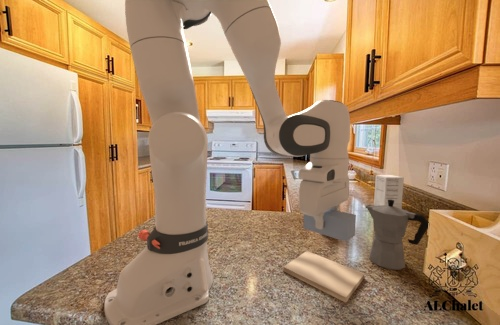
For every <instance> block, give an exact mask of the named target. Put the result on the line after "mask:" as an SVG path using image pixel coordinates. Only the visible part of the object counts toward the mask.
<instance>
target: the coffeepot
mask: <svg viewBox="0 0 500 325" xmlns="http://www.w3.org/2000/svg"><path fill="white" fill-rule="evenodd" d="M393 204H394V200H388V205H381V206H376V205H374V204H373V205H372V204H370V205H366V206H365V208H366V209H367V210H368V212H369V215H370V216H371V218H372V220H373V221H372V222H373V231H374V235H373V238H372V242H371V247H370V249H369V250H370V251H369V254H368V255H369V256H368V259H369V260H370V261H371V262H372V263H373V264H374V265H376V266H378V267H381V268H384V269H388V270H391V271H399V270H403V269H405V268H406V261H405V252H404V245H403V244H404V243H403V238H404V237H405V234H406V232H407V231H406V230H407V227H408V225H409V221H413V222H415V221H416V222H419V223H420V225H419V226H418V229H417V232H416V233H415V234H414V239H410V238H408V239H407V241H408V243H409V244H411V245H414V246H415V245H416V246H417V245H419V244H420V242H421V241H422V238H423V237H424V236H425V234H426V232H427V230H428V229H429V228H428V223H429V224H430V222H429V221H428V219H427V218H426V217H425V216H424V215H423V214H421V213H420V214H419V213H414V212H410V211H409V210H406V209H403V208H402V209H400V208H397V207H394V206H393Z"/></svg>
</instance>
